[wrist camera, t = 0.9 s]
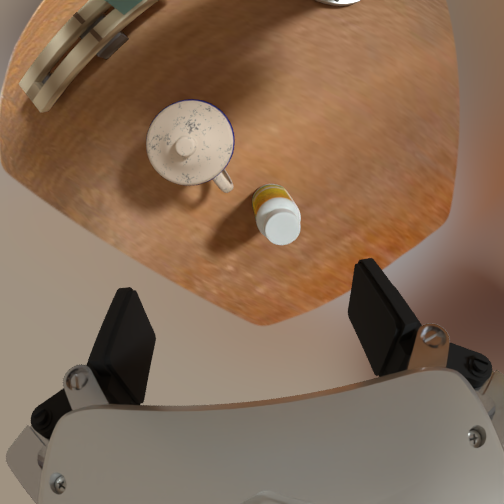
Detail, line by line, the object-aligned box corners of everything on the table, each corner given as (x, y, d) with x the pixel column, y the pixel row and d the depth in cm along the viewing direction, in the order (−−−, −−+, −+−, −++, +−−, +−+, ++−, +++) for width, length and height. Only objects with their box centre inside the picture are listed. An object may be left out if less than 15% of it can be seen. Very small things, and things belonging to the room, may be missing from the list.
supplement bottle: (296, 202, 39) (316, 231, 31) (267, 225, 40) (279, 259, 32) (272, 174, 37) (287, 196, 28) (243, 199, 38) (248, 228, 30)
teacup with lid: (150, 129, 32) (118, 140, 22) (206, 88, 30) (197, 78, 20) (202, 197, 37) (194, 234, 27) (258, 160, 36) (271, 183, 25)
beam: (156, -34, 19) (148, -49, 15) (189, -7, 22) (184, -21, 18) (36, 81, 25) (16, 82, 20) (61, 111, 28) (41, 114, 24)
